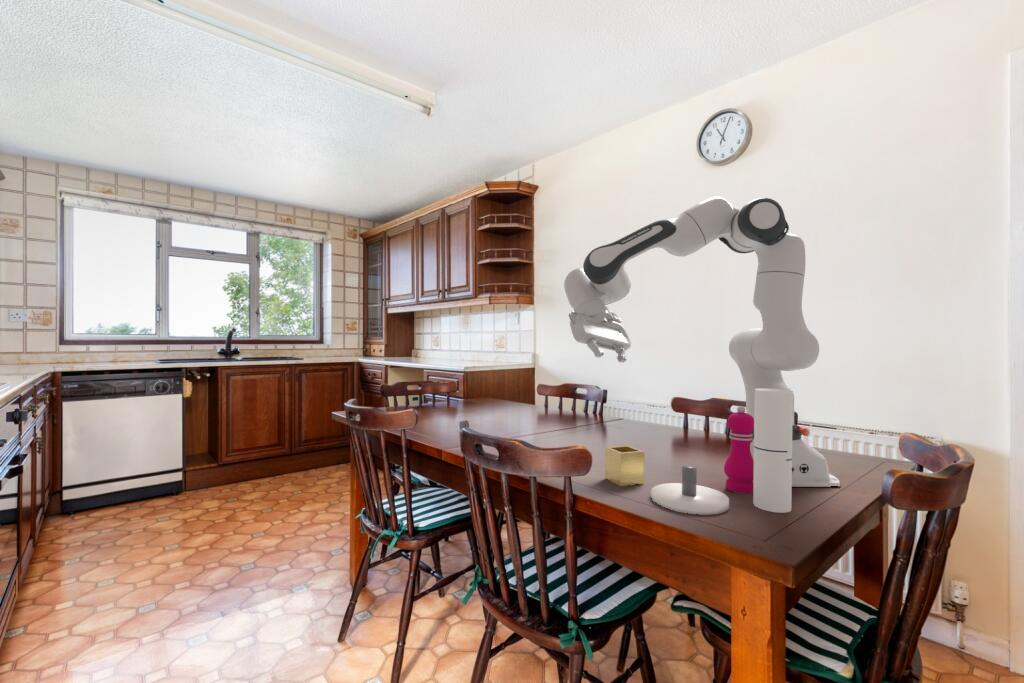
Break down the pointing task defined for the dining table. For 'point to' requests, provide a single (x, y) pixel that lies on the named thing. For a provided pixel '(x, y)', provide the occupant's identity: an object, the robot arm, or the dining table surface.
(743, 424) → the pepper mill
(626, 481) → the yellow square cup
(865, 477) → the dining table surface
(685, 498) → the plate
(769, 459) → the cylindrical container
